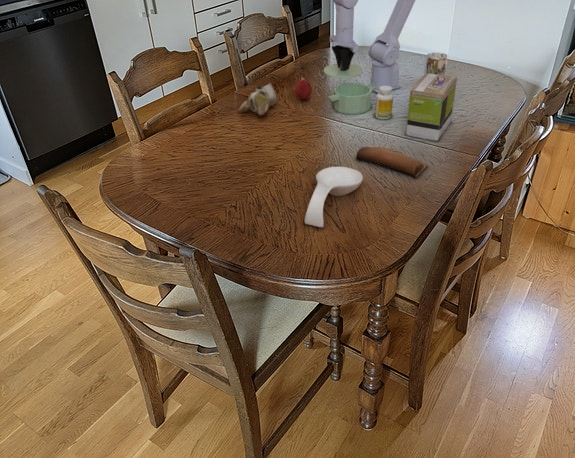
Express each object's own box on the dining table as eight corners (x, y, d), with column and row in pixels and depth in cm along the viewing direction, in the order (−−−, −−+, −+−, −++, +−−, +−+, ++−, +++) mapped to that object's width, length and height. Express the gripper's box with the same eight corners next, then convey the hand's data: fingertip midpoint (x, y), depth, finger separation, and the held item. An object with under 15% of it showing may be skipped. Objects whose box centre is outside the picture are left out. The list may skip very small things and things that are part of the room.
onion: (312, 97, 178) (312, 74, 173) (311, 103, 173) (311, 81, 168) (296, 97, 178) (295, 75, 173) (294, 103, 174) (294, 81, 169)
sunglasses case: (428, 163, 136) (425, 150, 130) (417, 185, 134) (414, 172, 129) (370, 147, 145) (365, 133, 139) (359, 166, 143) (354, 154, 138)
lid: (316, 71, 173) (316, 58, 170) (348, 63, 178) (348, 50, 175) (337, 83, 164) (338, 69, 161) (370, 74, 169) (371, 61, 166)
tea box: (420, 116, 161) (426, 71, 152) (451, 122, 157) (459, 76, 148) (404, 135, 151) (410, 88, 142) (437, 142, 147) (445, 94, 138)
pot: (320, 106, 171) (320, 89, 167) (362, 95, 177) (363, 78, 174) (340, 119, 162) (340, 101, 158) (384, 106, 168) (385, 89, 165)
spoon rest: (325, 174, 135) (325, 150, 130) (367, 181, 131) (369, 157, 127) (291, 222, 118) (290, 197, 113) (338, 233, 114) (339, 207, 109)
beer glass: (443, 96, 173) (450, 53, 164) (439, 104, 168) (445, 60, 159) (423, 94, 176) (428, 51, 167) (418, 101, 171) (424, 57, 162)
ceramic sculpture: (283, 80, 167) (259, 99, 157) (285, 104, 172) (262, 124, 163) (256, 76, 171) (231, 94, 162) (259, 100, 177) (235, 118, 167)
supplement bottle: (371, 115, 164) (373, 86, 158) (385, 111, 165) (387, 83, 160) (381, 121, 160) (383, 92, 154) (394, 117, 161) (397, 88, 156)
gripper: (322, 24, 166) (322, 64, 174) (346, 34, 155) (345, 76, 163) (339, 20, 168) (338, 60, 176) (365, 30, 158) (363, 72, 166)
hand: (343, 68), depth 170 cm, fingers closed on lid, 2 cm apart
